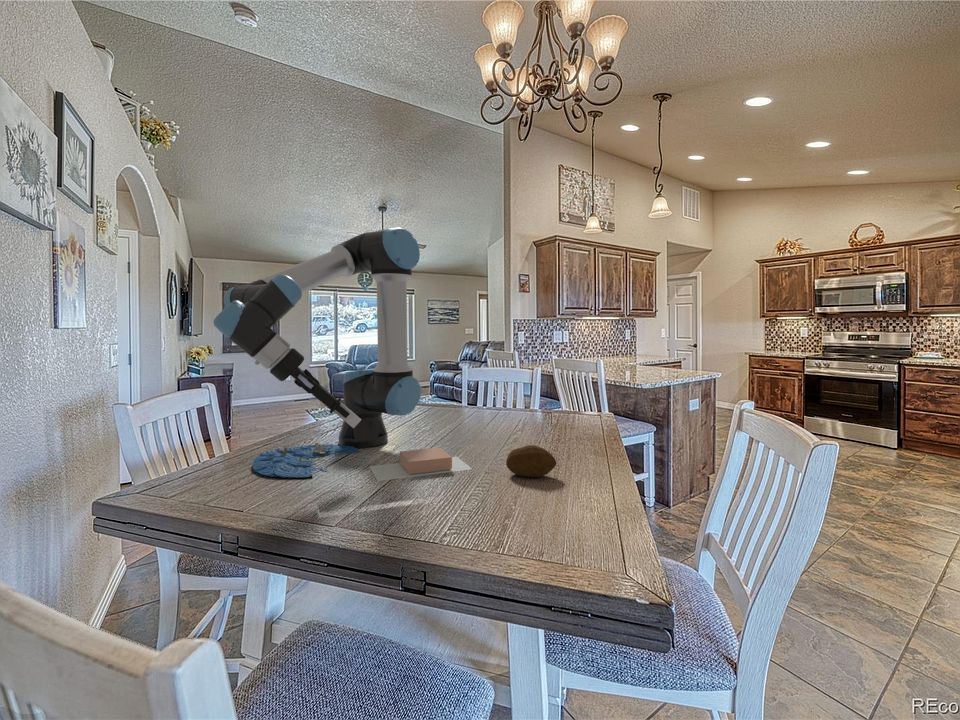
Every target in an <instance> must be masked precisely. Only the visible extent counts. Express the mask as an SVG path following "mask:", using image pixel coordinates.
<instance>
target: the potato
mask: <svg viewBox="0 0 960 720" xmlns="http://www.w3.org/2000/svg"><path fill="white" fill-rule="evenodd" d="M505 465H506V467H507V469H508V470H509V471H510V472H511V473H513V475H516V476H519V477H525V478H541V477H543V476H545V475H548V474H549V473H550V472H551V471H553V469H555V467H556V466H557V461H556V457H555V456H553V454H552V453H550V452H549V451H548V450H547V449H545V448H543V447H540V446H539V445H538V446H537V445H533V444H530V445H525V446H522V447H518V448H514V449H513V450H510V451H509V453H508V454H507V458H506V460H505Z"/></svg>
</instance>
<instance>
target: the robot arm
mask: <svg viewBox="0 0 960 720" xmlns="http://www.w3.org/2000/svg"><path fill="white" fill-rule="evenodd" d="M420 255H421V253H420V247H419V243H418V241H417V239H416V238H415V237H414V235H413V234H412V232H410V231H409V230H407V228H402V227H388V228H386V229H379V230H374V231H367V232H363V233H362V232H361V233H360V234H358V235H355V236H353V237H352V238H349V239H347V240H345V241H343V242H341V243H338V244H336V245H334V246H332V248H331V249H330V251H328V252H326V253H323V254H321V255H318V256H316V257H312V258H310V259H307V260H305V261H302V262H300V263H298V264H295V265H292V266H290V267H288V268H285V269H283V270H280V271H277V272H274V273H272V274H270V275H267V276H264V277H262V278H259V279H258V280H255V281H251V282H249V283H247V284H244V285H236V286H233V287H230V288H229V289H227V290H226V292H225V293H224V296H223V303H224V308H223V309H222V310H221V311H220V312H219V313H218V314H217V315H216V316H215V318H214V319H213V325H214V327H215V328H216V329H217V330H218V331H219V332H220V333H221V334H223V336H225V337H226V339H228V340H230V341H231V342H232V343H233V344H235V346H237V347H238V348H239V349H241V350H242V351H244V353H246V354H248V356H250V357H251V358H252V359H253V360H255V361H254V364H255V365H256V366H259V365H260V366H262V367H263V368H264V369H266V370H268V369H270V370H269V373H270V375H272V376H273V377H275V379H277V380H278V381H280V382H284V381H285V380H286V379H288V378H289V377H292V378H293V379H294V381H293V383H294V384H295V385H296V386H298V387H299V388H301V389H303V391H306V393H308V394H311V395H312V396H313V397H314V398H316V399H317V400H318V401H319V402H320V403H322V404H323V405H325V406H326V408H328V409H329V413H330V414H333V413H334V414H335V415H337V416H338V417H339V418H341V419H342V420H343V421H342V425H341V428H340V429H339V434H338V445H342V446H350V447H351V446H352V447H354V448H356V449H359V448H372V447H378V446H381V445H384V444H386V443H387V442H388V441H389V440H388V435H389V434H388V431H387V428H386V426H385V423H384V420H383V414H387V415H389V416H406V415H409V414H411V413H412V412H413V411H414V410H415V409H416V407H417V406H418V405H419V402H420V399H421V395H422V386H421V383H420V382H419V380H418V379H417V378H415V377H414V375H413V374H414V373H413V372H414V371H413V370H414V369H413V368H412V367H411V365H409V363H408V314H407V313H408V312H407V311H408V309H407V306H408V305H407V304H408V302H407V301H408V300H407V297H408V296H407V295H408V294H407V293H408V292H407V288H408V287H407V283H408V281H409V280H411V278H412V275H413V273H412V271H413V270H412V269H413V268H415V267H416V266H417V265H418V263H419V261H420ZM367 272H368V273H370V276H371V277H372V279H373V280H374V281H375V282H376V317H377V319H376V320H377V321H376V322H377V323H376V324H377V325H376V327H377V331H376V332H377V364H376V366H374V368H371V369H361V370H350V371H346V372H345V373H344V374H343V382H342V386H343V388H342V391H343V395H342V396H343V402H341V401H342V398H341V397H338V398H337V397H336V396H334V395H333V394H332V393H331V392H329V390H327V389H326V388H325V387H324V386H322V385H321V384H320V381H319V380H318V379H317V378H316V377H315V376H314V375H313V374H312V373H311V371H309V370H308V369H307V368H305V369H304V370H303V369H302V368H301V367H299V366H301V365H302V364H303V362H304V360H305V357H304V355H302V354H301V352H299V351H298V350H297V349H296V348H293V347H292V348H291V344H290V343H289V342H288V341H286V340H285V338H283V337H282V336H281V335H280V334H279V333H277V332H276V331H275V330H274V329H272V328H273V327H274V326H275V325H276V324H277V323H278V322H279V321H280V320H282V318H283V317H284V316H285V315H286V314H288V313H289V312H290V311H291V310H292V309H293V308H295V307H296V304H298V302H299V301H300V300H301V299H302V298H303V294H304V293H308V292H309V291H311V290H314V289H316V288H318V287H320V286H322V285H325V284H327V283H329V282H332V281H333V280H336V279H338V278H341V277H345V278H349V277H352V276H354V275H357V274H362V273H363V274H364V273H367Z"/></svg>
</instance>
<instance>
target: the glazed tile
mask: <svg viewBox="0 0 960 720" xmlns="http://www.w3.org/2000/svg"><path fill="white" fill-rule="evenodd" d="M452 457H453V456H451V455H450V454H449V453H447V452H446V451H445V450H444V449H442V448H441V447H440V446H439V447H431V448H421V449H412V450H402V451H401V450H400V451H399V463H400V464H401V465H402V466H403V467H404V468H405V470H406V471H407V472H408V473H409V474H410V475H414V474H422V473H431V472H439V471H447V470H450V469H452Z"/></svg>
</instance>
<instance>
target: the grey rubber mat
mask: <svg viewBox="0 0 960 720" xmlns="http://www.w3.org/2000/svg"><path fill="white" fill-rule="evenodd" d="M451 457H452V469H450V470H447V471H439V472H431V473H422V474H414V475H410V474H409V473H408V472H407V471H406V470H405V468H404V467H403V466H402V465H401V464H400V462H398V463H397V462H396V463H390V464H389V463H388V464H378V465H370V466H369V468H370V471H371V472H372V474H373V475H374V477H375V478H376V480H377V482H382V481H389V480H399V479H406V478H414V477H421V476H430V475H437V474H446V473H454V472H462V471H469V470H473V468H472V467H470V466H469V465H468V464H467V463H465V461H463V460H462V459H460V458H459V457H458V456H451Z"/></svg>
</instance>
